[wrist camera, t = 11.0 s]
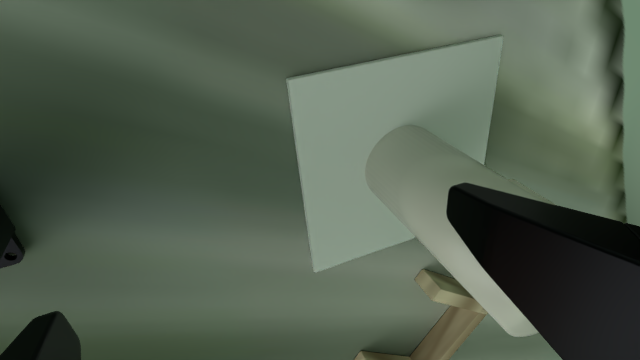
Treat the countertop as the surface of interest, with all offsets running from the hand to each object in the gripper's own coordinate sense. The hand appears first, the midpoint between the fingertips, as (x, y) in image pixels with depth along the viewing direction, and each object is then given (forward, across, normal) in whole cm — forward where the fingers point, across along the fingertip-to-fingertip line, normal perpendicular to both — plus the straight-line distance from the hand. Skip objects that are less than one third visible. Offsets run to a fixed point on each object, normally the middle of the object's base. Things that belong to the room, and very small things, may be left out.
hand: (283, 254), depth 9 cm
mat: (+13, -11, +7) cm, 18 cm away
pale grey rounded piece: (+13, -12, +7) cm, 19 cm away
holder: (+13, -13, +25) cm, 31 cm away
